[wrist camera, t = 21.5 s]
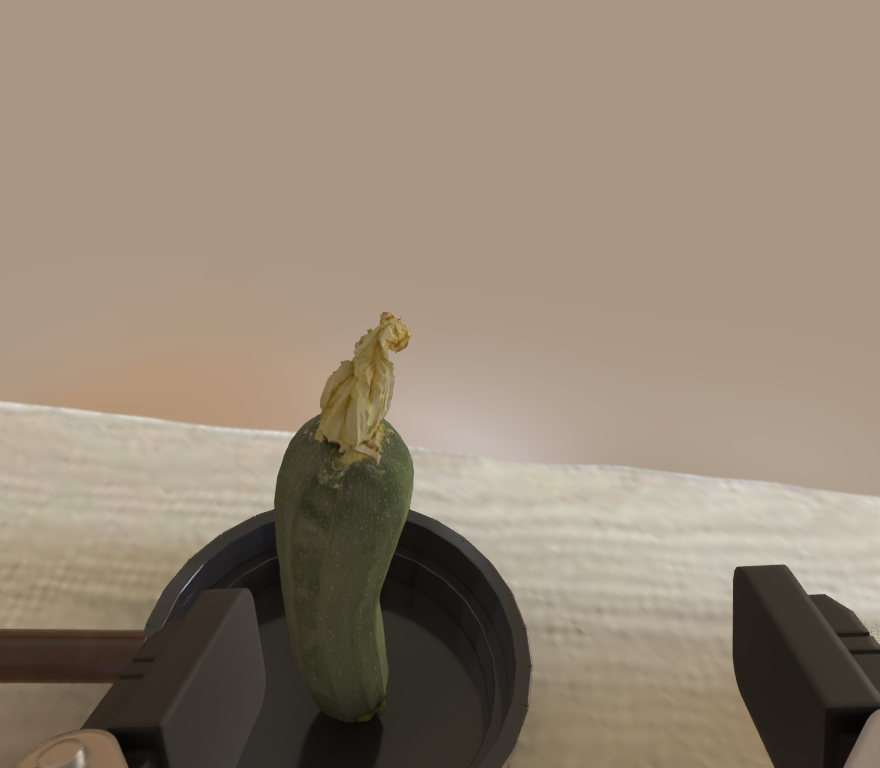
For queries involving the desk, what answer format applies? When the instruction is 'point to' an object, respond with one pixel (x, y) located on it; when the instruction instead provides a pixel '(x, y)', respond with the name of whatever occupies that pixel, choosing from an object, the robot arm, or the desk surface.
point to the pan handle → (66, 655)
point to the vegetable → (344, 529)
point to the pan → (407, 650)
